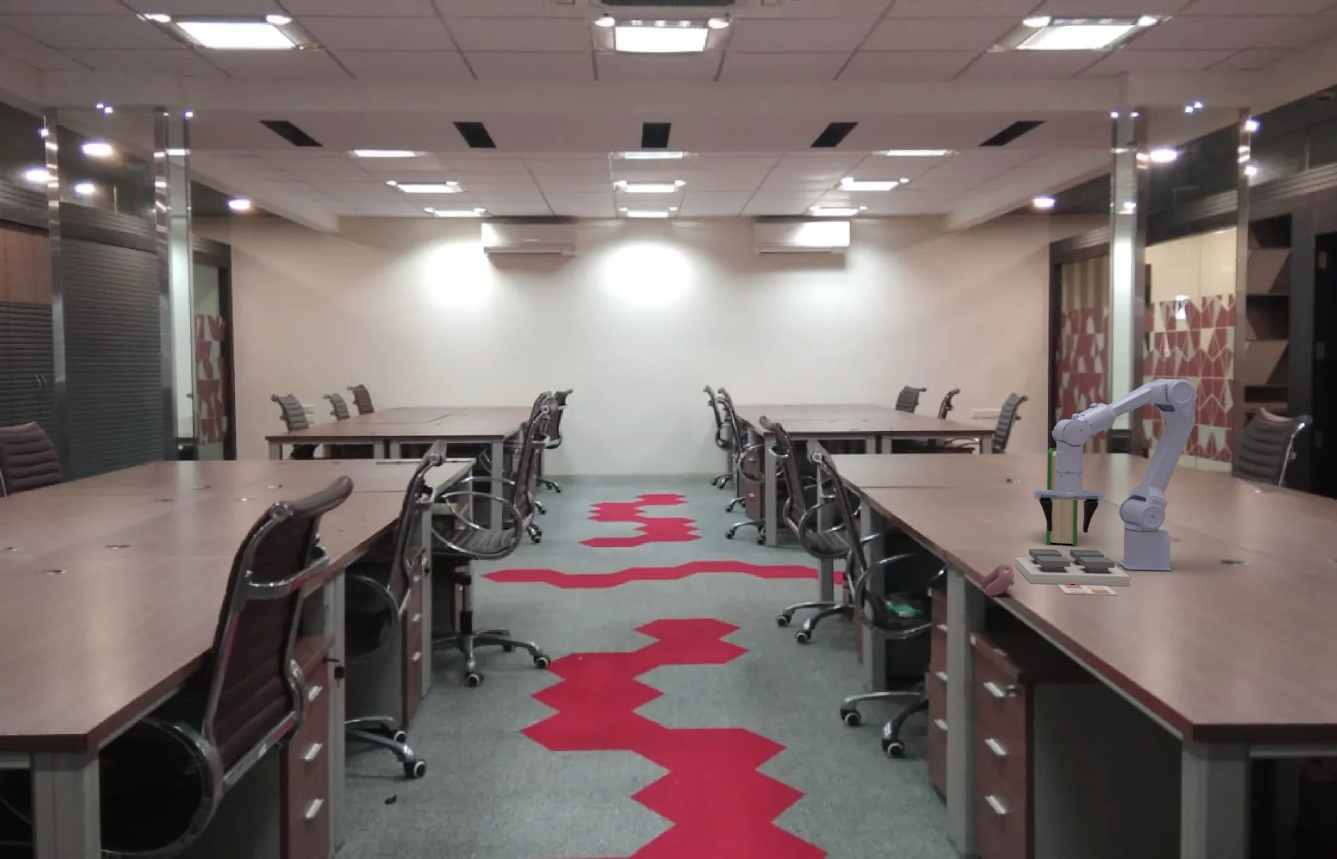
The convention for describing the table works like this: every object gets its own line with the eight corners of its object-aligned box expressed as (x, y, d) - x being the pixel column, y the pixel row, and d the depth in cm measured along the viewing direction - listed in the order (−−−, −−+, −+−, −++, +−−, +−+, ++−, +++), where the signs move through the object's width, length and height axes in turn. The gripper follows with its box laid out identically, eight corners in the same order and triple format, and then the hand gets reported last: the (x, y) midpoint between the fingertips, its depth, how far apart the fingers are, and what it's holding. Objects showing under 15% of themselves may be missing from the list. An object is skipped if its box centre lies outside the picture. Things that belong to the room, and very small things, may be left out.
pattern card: (1107, 587, 222) (1107, 585, 222) (1117, 595, 214) (1117, 593, 214) (1057, 586, 224) (1057, 584, 224) (1065, 594, 216) (1065, 592, 216)
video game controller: (1003, 605, 213) (1020, 575, 212) (983, 594, 214) (999, 564, 213) (998, 595, 223) (1014, 566, 222) (978, 584, 223) (994, 555, 222)
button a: (1097, 563, 241) (1097, 550, 241) (1103, 568, 235) (1104, 555, 235) (1069, 563, 242) (1070, 549, 242) (1075, 568, 236) (1075, 554, 236)
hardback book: (1076, 546, 272) (1078, 453, 271) (1046, 545, 275) (1047, 453, 273) (1076, 536, 289) (1078, 448, 287) (1047, 535, 291) (1049, 448, 290)
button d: (1064, 570, 233) (1064, 556, 233) (1070, 575, 227) (1070, 561, 227) (1036, 569, 234) (1036, 555, 234) (1041, 574, 228) (1041, 560, 228)
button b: (1056, 562, 242) (1056, 549, 242) (1061, 567, 236) (1061, 554, 236) (1028, 562, 243) (1029, 548, 243) (1033, 567, 237) (1033, 553, 237)
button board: (1106, 568, 243) (1106, 559, 243) (1129, 586, 223) (1129, 576, 223) (1015, 566, 246) (1015, 557, 246) (1031, 583, 226) (1031, 574, 226)
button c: (1107, 571, 232) (1107, 557, 232) (1114, 576, 226) (1114, 562, 226) (1078, 570, 233) (1078, 556, 233) (1084, 576, 227) (1085, 561, 227)
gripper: (1037, 472, 239) (1036, 532, 240) (1106, 474, 236) (1104, 535, 236) (1034, 470, 246) (1032, 528, 246) (1100, 471, 242) (1098, 530, 243)
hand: (1067, 531), depth 242 cm, fingers open, 7 cm apart
